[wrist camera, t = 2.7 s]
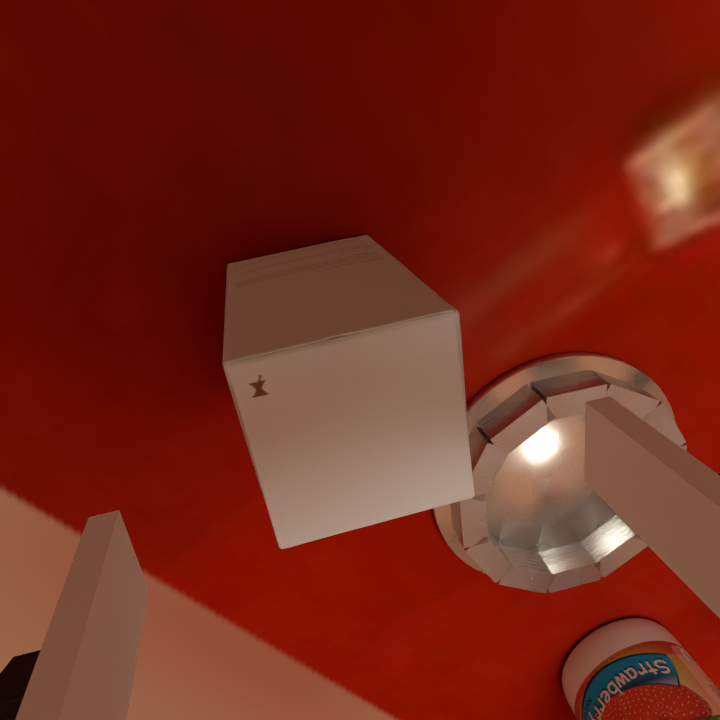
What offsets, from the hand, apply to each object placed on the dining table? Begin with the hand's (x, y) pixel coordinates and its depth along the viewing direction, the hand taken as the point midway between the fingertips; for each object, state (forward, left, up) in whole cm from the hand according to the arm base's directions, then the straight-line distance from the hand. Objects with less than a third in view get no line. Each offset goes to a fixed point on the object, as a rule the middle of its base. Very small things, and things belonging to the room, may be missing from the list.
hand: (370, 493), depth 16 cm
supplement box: (0, 0, -16) cm, 15 cm away
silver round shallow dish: (+13, +13, -15) cm, 24 cm away
